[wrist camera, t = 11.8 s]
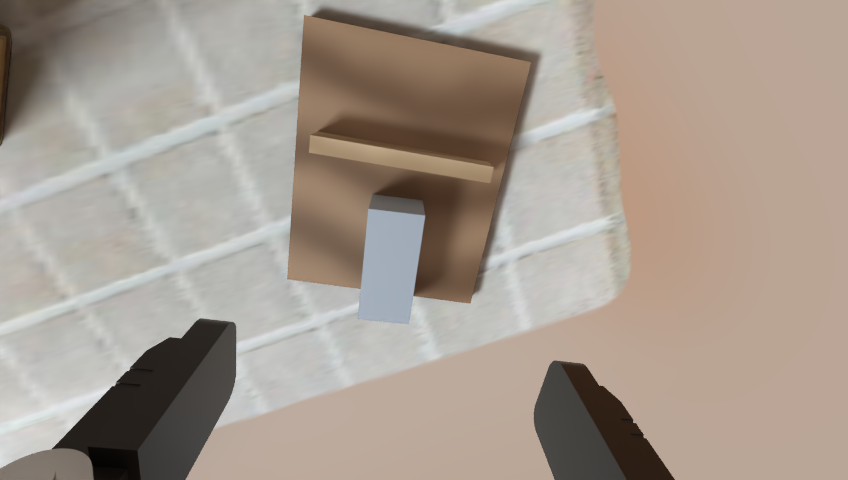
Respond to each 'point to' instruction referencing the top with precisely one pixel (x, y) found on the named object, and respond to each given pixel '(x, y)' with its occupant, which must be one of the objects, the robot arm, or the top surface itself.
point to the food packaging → (4, 71)
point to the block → (390, 258)
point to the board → (398, 150)
